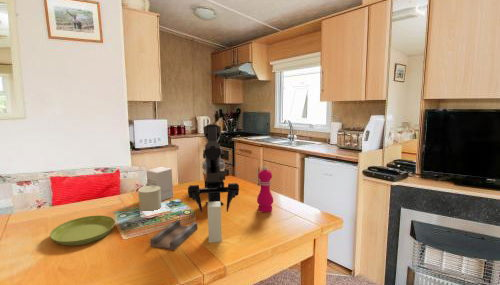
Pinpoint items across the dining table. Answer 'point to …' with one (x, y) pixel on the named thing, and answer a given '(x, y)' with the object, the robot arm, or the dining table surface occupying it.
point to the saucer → (82, 230)
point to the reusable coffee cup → (222, 167)
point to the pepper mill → (265, 191)
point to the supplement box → (161, 181)
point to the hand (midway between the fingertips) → (214, 212)
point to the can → (149, 198)
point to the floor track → (173, 235)
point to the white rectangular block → (214, 222)
